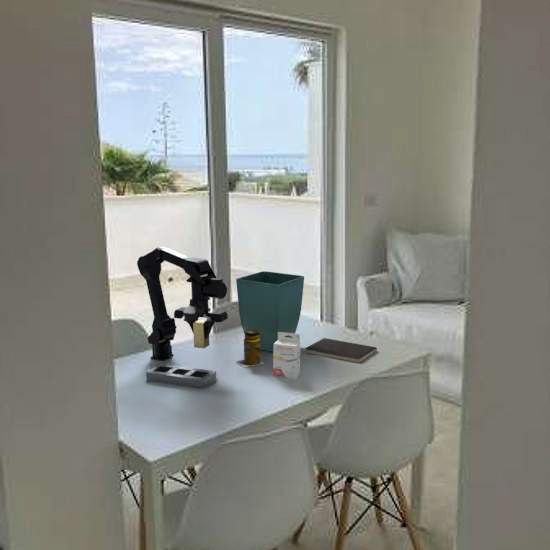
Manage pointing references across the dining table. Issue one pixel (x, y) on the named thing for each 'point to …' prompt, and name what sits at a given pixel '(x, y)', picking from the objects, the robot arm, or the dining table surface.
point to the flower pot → (270, 304)
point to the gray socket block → (181, 376)
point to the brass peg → (200, 334)
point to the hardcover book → (341, 350)
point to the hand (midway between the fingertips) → (201, 337)
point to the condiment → (251, 349)
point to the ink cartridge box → (286, 355)
